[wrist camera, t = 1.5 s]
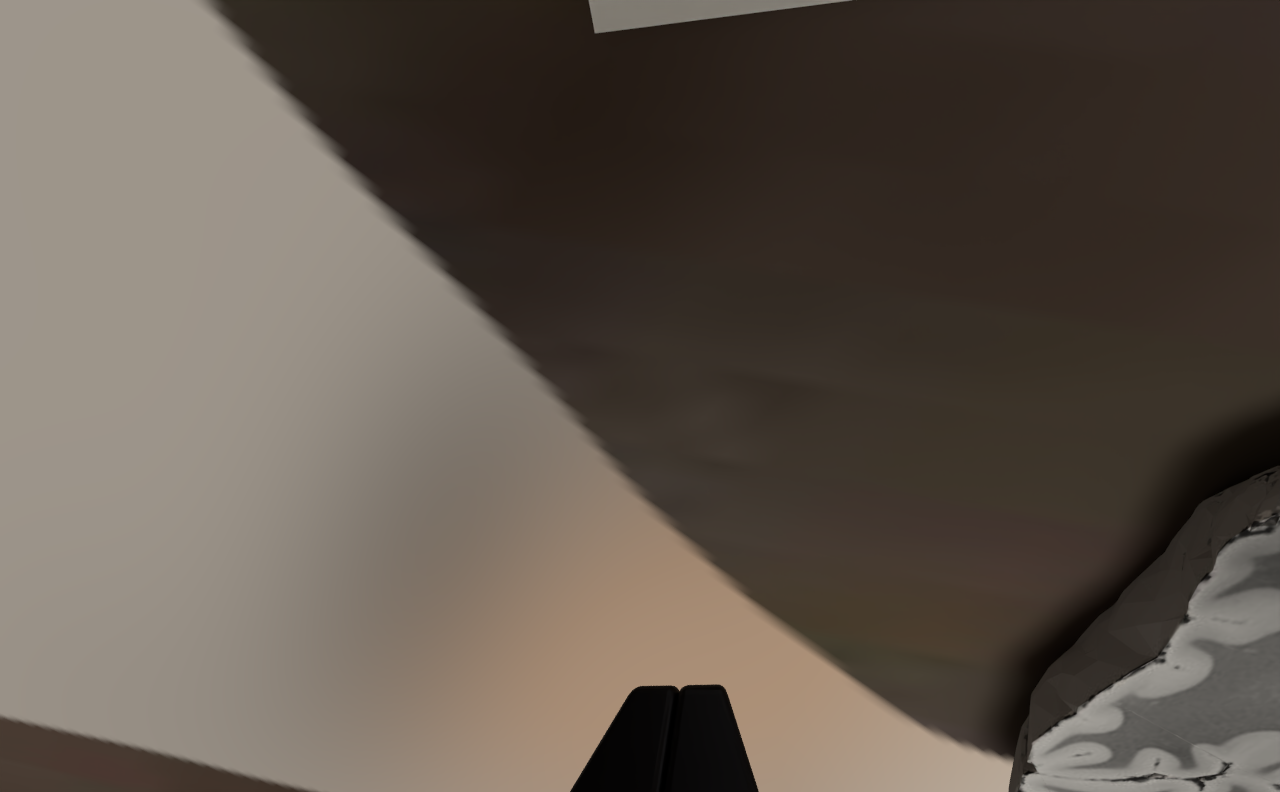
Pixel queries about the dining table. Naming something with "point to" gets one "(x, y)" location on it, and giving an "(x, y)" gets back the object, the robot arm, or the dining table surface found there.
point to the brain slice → (1173, 668)
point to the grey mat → (679, 11)
